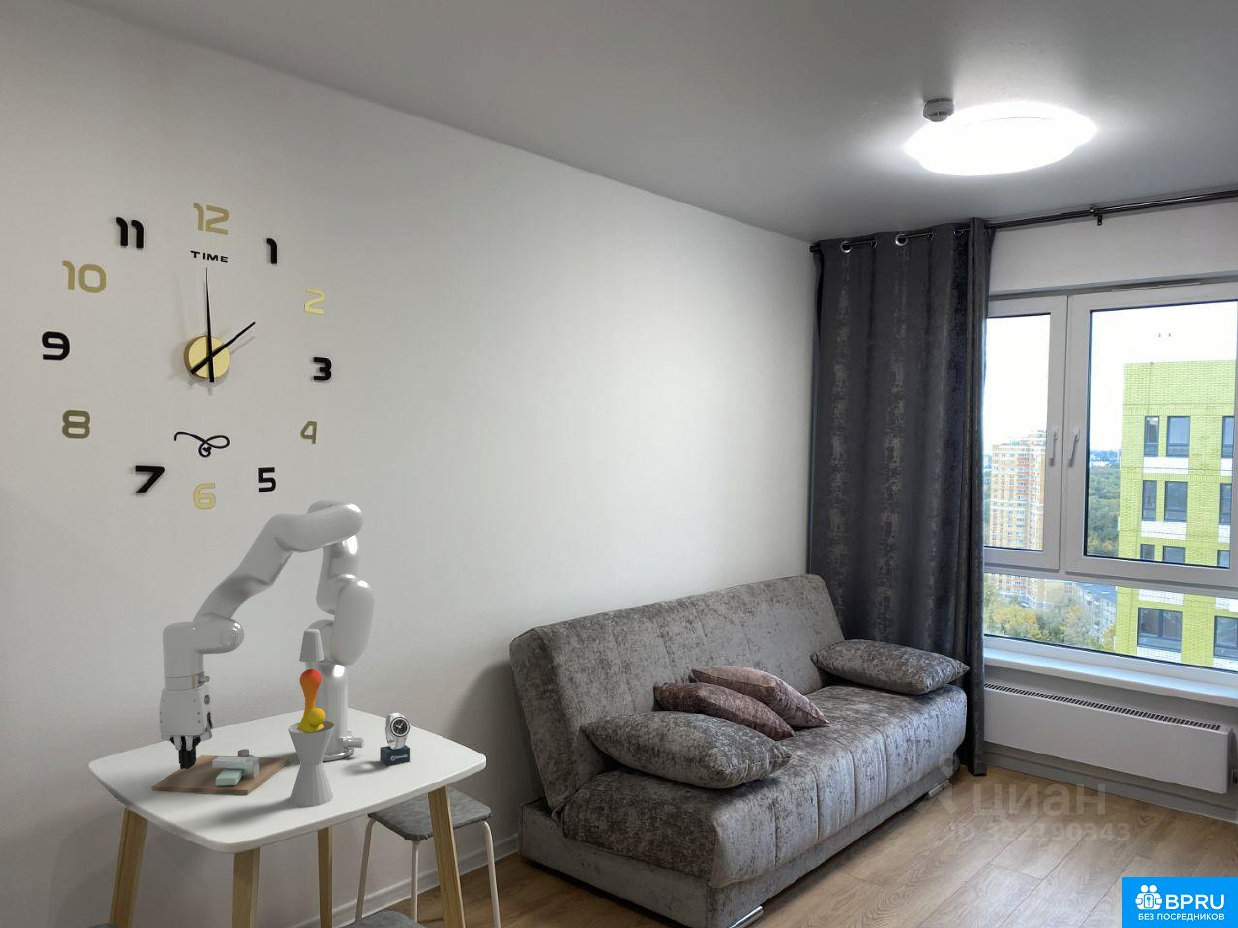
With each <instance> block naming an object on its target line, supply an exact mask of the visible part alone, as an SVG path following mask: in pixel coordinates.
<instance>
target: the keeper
mask: <svg viewBox="0 0 1238 928" xmlns="http://www.w3.org/2000/svg"><path fill="white" fill-rule="evenodd" d="M218 756H219V757H217V758H216V759H214V760H213V761H212V768H236V769H243V778H247V779H254V778H256V777H257V776H258V775H259V758H258V757H259V756H254V757H228V756H229V755H218Z"/></svg>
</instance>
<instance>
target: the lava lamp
mask: <svg viewBox="0 0 1238 928" xmlns="http://www.w3.org/2000/svg"><path fill="white" fill-rule="evenodd" d="M306 629H307V628H306ZM306 629H305V630H304V631H303V633H302V634H303V635H302V636H303V637H302V641H301V646H300V647H301V648H300V653H299V659H298V661H299V662H301V663H305V662H318V661H322V660H324V654H323V648H322V642H321V636H320V631H319V630H318V629H307V630H306ZM321 680H322V678H321V674H320V673H319V672H318V671H317V670H315V669H308V670H306V669H305V670H304V671H303V672H302V673H301V674H300V676H299V685H300V687H301V689H302V692H303V696H304V710H303V716H302V717H301V720H300V722H297V723H293V724H291V725H290V726H289V727H288V730H287V731H288V733H289V736H290V739H291V741H292V744H293V746H294V750H295V752H296V755H297V757H298V760H299V763H300V764H299V768H298V771H297V774H296V778H295V781H294V785H293V787H292V791H291V794H290V797H289V800H288V802H289V804H290V805H292V806H295V807H298V808H299V807H301V808H303V807H305V808H307V807H308V808H309V807H316V806H321V805H324V804H326V803H329V802H331V801H332V800H333V799H334V794H333V791H332V788H331V785H330V781H329V779H328V775H327V772H326V769H325V766H324V763H323V762H324V761H323V758H324V755H325V752H326V749H327V746H328V743H329V740H330V737H331V734H332V732H333V728H334V723H332V722H329V721H324V720H325V712H324V711H323V710H322V709H320V708H315V702H316V696H317V692H318V689H319V686H320V684H321ZM332 798H333V799H332ZM331 799H332V800H331ZM330 800H331V801H330ZM328 801H329V802H328Z"/></svg>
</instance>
